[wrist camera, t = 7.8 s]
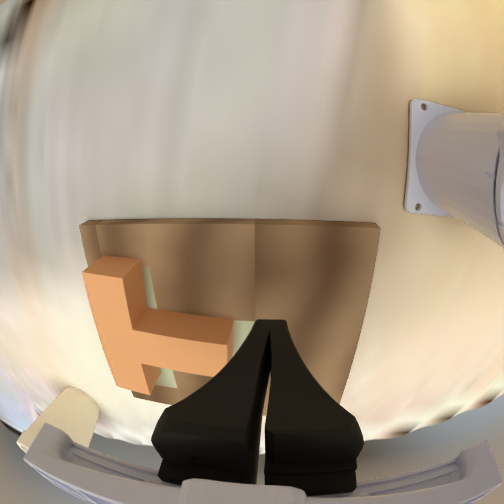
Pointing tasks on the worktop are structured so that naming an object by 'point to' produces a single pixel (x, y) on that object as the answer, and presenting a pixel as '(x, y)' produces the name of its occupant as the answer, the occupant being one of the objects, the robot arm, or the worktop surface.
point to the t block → (150, 329)
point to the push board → (252, 283)
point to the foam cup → (66, 418)
